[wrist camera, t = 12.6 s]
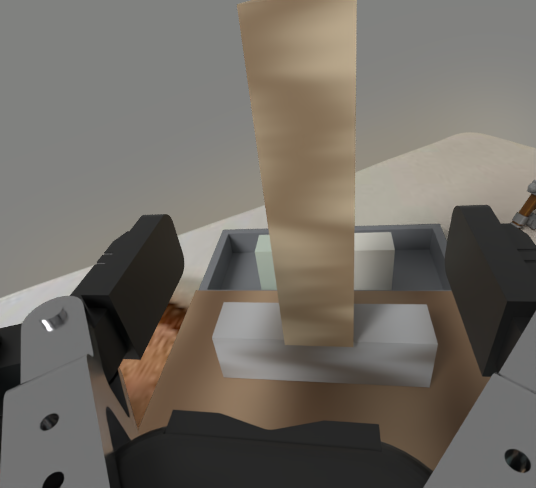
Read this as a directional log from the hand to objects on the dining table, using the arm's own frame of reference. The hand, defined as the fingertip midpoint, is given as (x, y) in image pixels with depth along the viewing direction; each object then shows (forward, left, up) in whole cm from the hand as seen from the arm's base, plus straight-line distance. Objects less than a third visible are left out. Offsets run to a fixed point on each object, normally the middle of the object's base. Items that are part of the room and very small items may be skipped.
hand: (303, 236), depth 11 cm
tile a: (-2, -11, -11) cm, 15 cm away
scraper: (0, -3, -10) cm, 11 cm away
